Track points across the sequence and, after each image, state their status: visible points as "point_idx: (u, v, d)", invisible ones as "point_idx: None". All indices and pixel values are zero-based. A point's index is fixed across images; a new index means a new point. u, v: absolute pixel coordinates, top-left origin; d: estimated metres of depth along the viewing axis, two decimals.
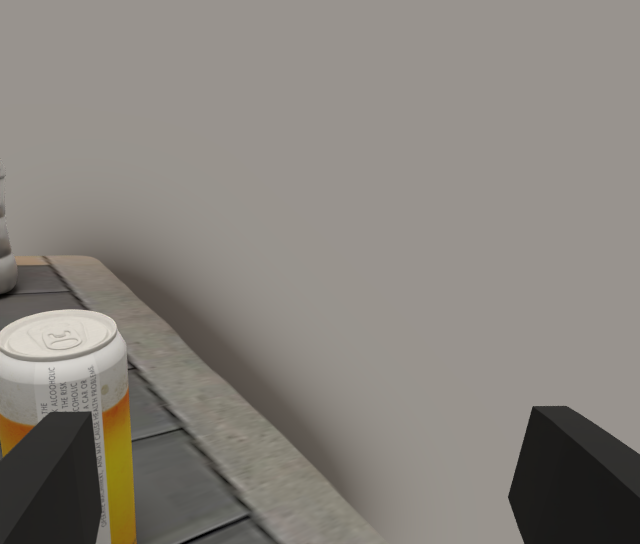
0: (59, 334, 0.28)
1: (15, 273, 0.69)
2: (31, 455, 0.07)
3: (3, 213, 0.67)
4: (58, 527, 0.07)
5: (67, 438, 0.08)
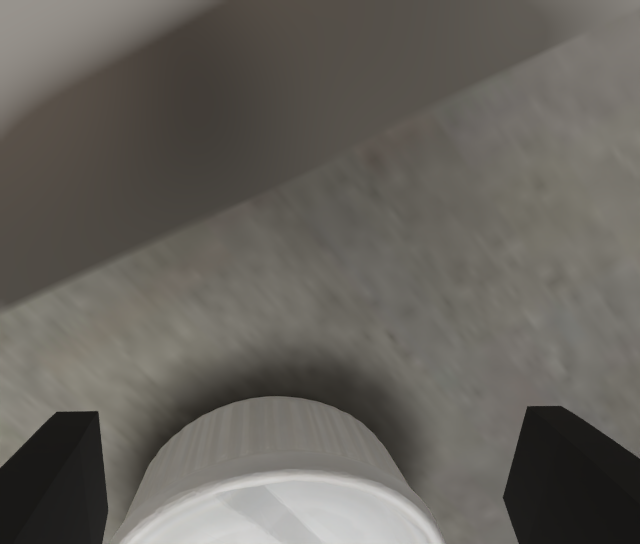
0: None
1: None
2: (39, 455, 0.07)
3: None
4: (66, 527, 0.07)
5: (75, 438, 0.08)
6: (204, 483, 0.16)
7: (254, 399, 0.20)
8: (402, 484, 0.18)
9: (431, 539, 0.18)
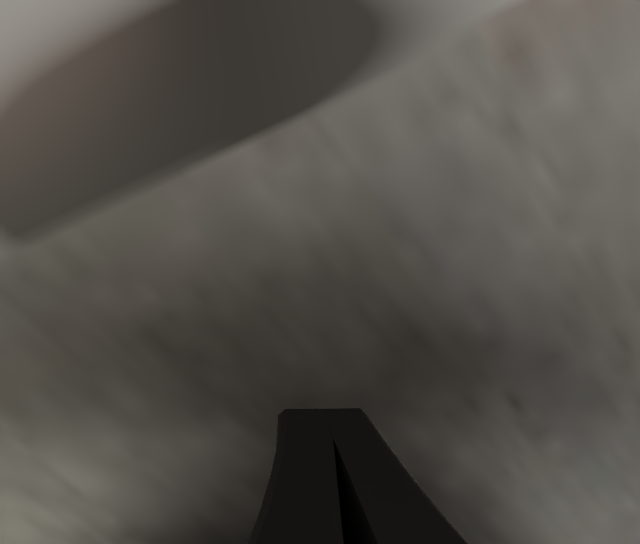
0: None
1: None
2: (306, 449, 0.08)
3: None
4: None
5: (324, 434, 0.08)
6: None
7: None
8: None
9: None
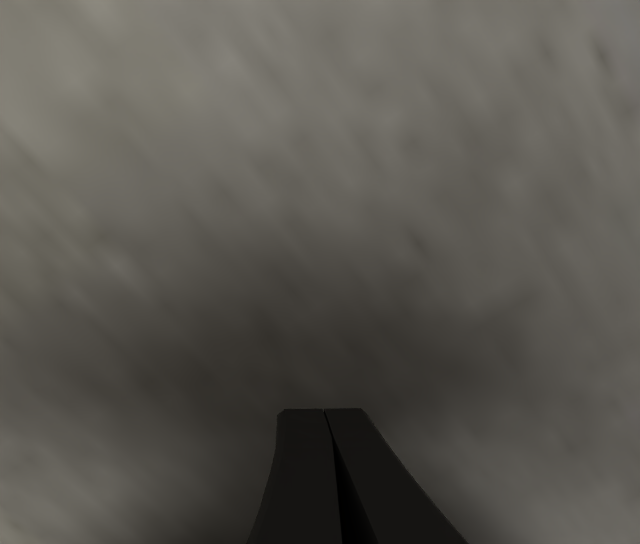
0: None
1: None
2: (305, 449, 0.08)
3: None
4: None
5: (323, 434, 0.08)
6: None
7: None
8: None
9: None
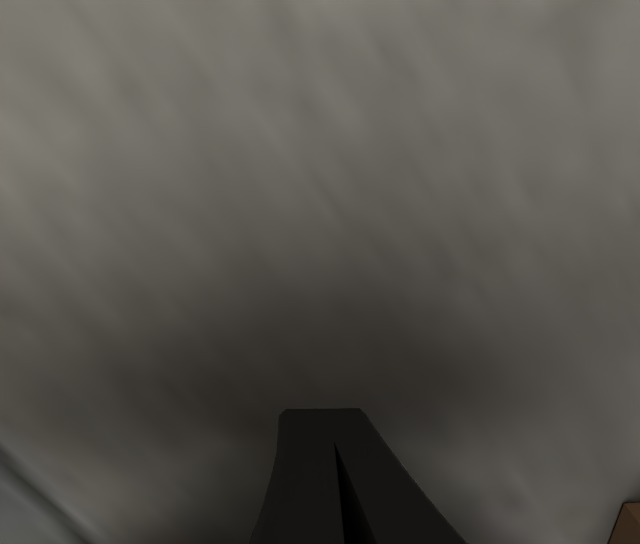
0: None
1: None
2: (307, 449, 0.08)
3: None
4: None
5: (325, 434, 0.08)
6: None
7: None
8: None
9: None
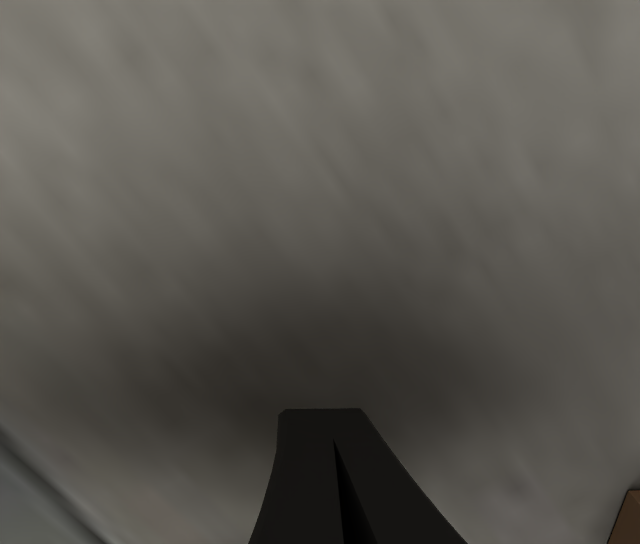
0: None
1: None
2: (306, 449, 0.08)
3: None
4: None
5: (324, 434, 0.08)
6: None
7: None
8: None
9: None
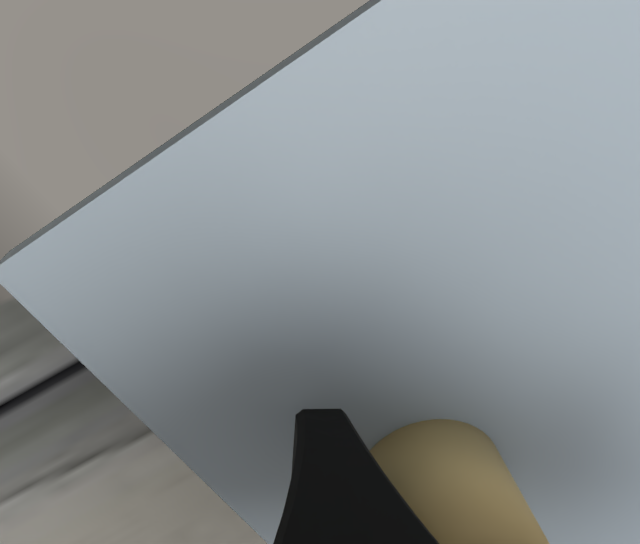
0: None
1: None
2: (326, 449, 0.08)
3: None
4: None
5: (343, 433, 0.08)
6: None
7: None
8: None
9: None
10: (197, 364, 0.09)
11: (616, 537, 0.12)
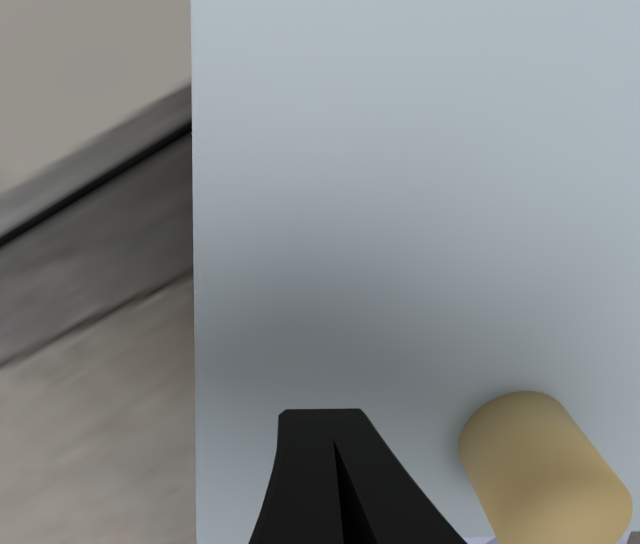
0: None
1: None
2: (306, 449, 0.08)
3: None
4: None
5: (324, 434, 0.08)
6: None
7: None
8: None
9: None
10: None
11: None
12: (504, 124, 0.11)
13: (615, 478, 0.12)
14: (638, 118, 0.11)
